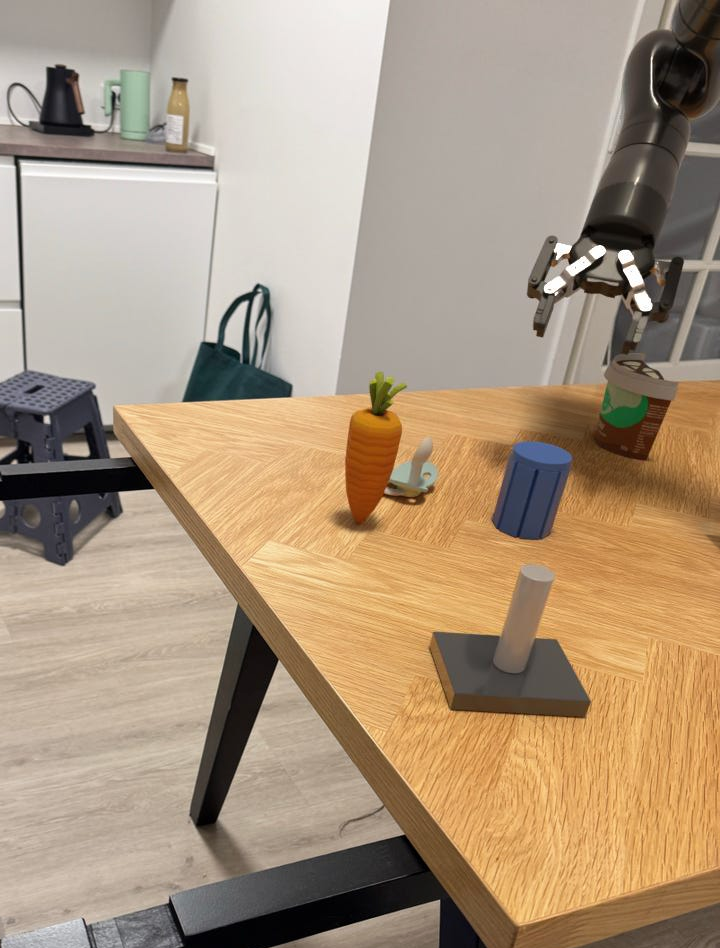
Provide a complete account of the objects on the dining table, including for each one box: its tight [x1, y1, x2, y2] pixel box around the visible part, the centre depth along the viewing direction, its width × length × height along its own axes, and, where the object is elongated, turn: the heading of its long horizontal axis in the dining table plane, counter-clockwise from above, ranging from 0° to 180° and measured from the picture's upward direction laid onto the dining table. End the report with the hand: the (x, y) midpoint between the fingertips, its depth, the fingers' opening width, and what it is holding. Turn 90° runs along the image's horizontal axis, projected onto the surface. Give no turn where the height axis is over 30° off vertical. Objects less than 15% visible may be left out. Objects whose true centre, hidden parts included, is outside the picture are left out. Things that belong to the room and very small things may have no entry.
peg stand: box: [429, 563, 592, 718], centre depth 65 cm, size 10×8×10 cm
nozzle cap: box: [491, 440, 573, 541], centre depth 88 cm, size 6×6×8 cm
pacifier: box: [383, 435, 439, 498], centre depth 94 cm, size 7×6×6 cm
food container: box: [593, 352, 679, 461], centre depth 110 cm, size 12×6×10 cm, turn 178°
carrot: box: [344, 371, 408, 525], centre depth 83 cm, size 5×5×15 cm
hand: (582, 341), depth 90 cm, fingers open, 8 cm apart
